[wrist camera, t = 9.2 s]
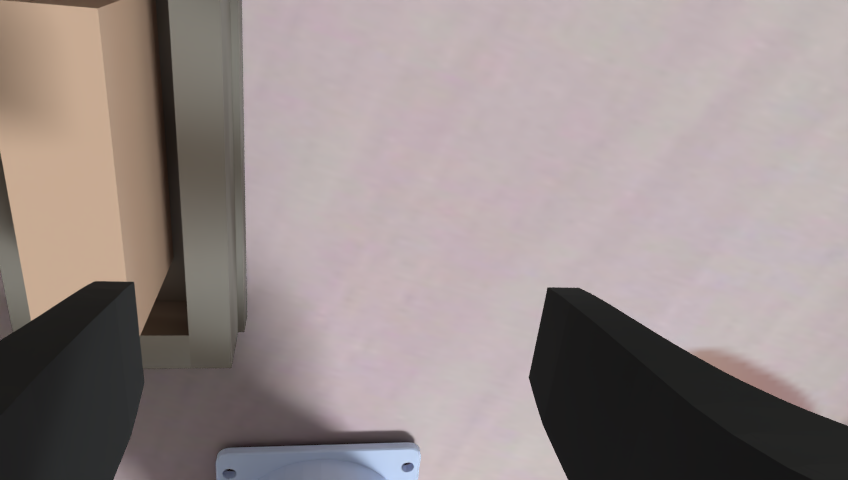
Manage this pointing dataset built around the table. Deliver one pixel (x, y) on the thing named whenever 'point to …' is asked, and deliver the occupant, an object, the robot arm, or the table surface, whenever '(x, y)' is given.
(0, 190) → the shallow rectangular tray
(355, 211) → the table surface
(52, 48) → the tan rectangular block
